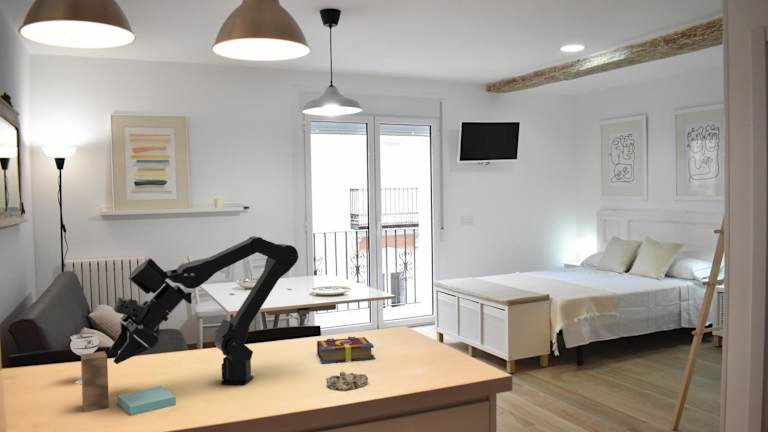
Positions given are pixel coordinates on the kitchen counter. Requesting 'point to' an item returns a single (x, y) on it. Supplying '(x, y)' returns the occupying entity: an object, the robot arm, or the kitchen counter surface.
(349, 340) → the decorative book
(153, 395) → the ceramic plinth
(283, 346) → the kitchen counter surface
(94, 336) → the wineglass
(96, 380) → the walnut post
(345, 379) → the mineral rock
